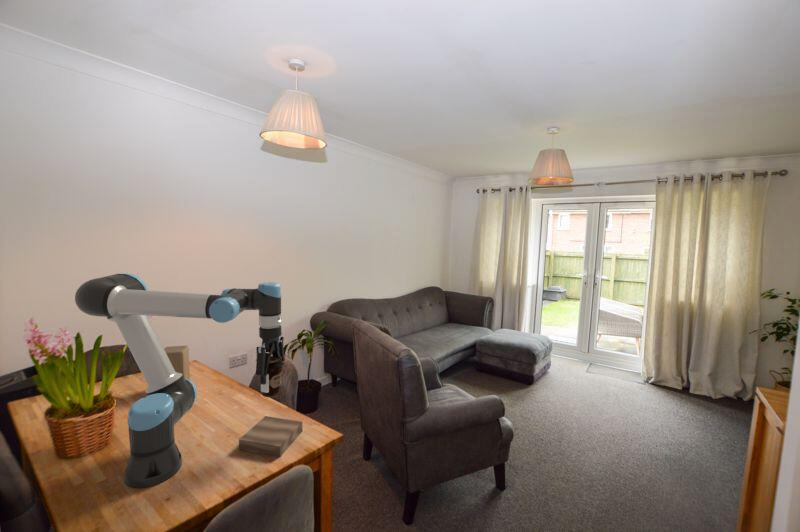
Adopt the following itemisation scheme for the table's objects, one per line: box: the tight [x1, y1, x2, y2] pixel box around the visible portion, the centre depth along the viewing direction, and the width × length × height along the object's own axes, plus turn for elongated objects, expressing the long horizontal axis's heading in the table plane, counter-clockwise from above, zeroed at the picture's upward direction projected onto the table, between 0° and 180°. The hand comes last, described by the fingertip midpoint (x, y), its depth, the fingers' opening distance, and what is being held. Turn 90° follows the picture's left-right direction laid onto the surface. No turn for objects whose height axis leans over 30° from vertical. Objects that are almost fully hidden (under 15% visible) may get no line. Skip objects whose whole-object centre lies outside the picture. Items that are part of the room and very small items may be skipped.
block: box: [164, 345, 191, 381], centre depth 168 cm, size 10×10×20 cm
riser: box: [238, 415, 304, 458], centre depth 131 cm, size 16×16×4 cm
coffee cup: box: [261, 355, 284, 398], centre depth 129 cm, size 9×8×13 cm
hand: (271, 386), depth 129 cm, fingers closed on coffee cup, 7 cm apart
